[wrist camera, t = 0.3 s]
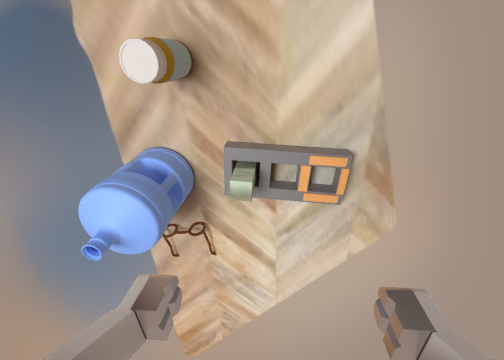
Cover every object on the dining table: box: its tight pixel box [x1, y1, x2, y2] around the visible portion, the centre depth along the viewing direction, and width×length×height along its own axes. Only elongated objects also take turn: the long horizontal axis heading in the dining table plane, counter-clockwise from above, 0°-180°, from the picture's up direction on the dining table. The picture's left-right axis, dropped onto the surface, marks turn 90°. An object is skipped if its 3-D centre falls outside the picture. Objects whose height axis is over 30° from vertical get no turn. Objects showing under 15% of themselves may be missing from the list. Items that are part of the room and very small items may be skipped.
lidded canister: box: [119, 37, 192, 84], centre depth 42 cm, size 7×7×15 cm
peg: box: [230, 161, 257, 201], centre depth 53 cm, size 4×4×12 cm
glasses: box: [162, 222, 216, 257], centre depth 70 cm, size 13×13×5 cm
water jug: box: [79, 147, 194, 260], centre depth 50 cm, size 16×16×28 cm
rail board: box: [224, 141, 353, 205], centre depth 56 cm, size 12×28×4 cm, turn 88°
